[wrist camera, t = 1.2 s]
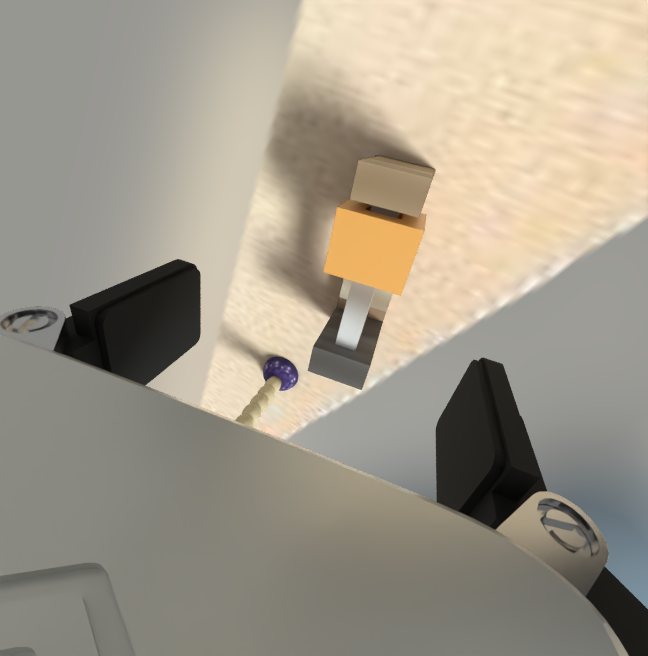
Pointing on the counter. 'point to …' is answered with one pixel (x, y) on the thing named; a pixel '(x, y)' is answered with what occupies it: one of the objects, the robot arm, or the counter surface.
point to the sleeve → (373, 246)
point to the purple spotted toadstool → (269, 388)
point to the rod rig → (358, 299)
